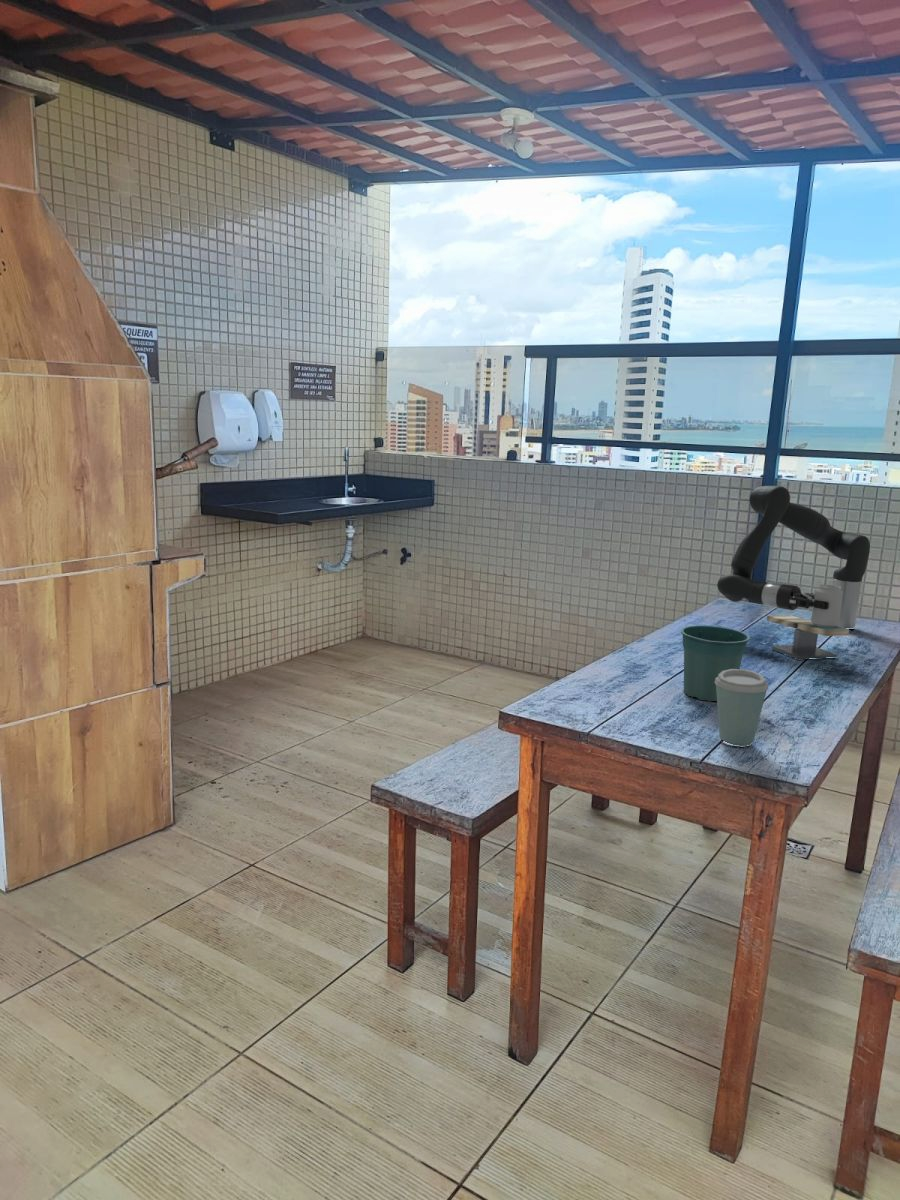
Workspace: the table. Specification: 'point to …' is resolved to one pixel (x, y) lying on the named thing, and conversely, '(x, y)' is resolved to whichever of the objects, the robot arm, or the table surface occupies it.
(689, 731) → the table surface
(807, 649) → the stand
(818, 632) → the beam
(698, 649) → the flower pot
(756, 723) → the disposable coffee cup
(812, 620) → the can
